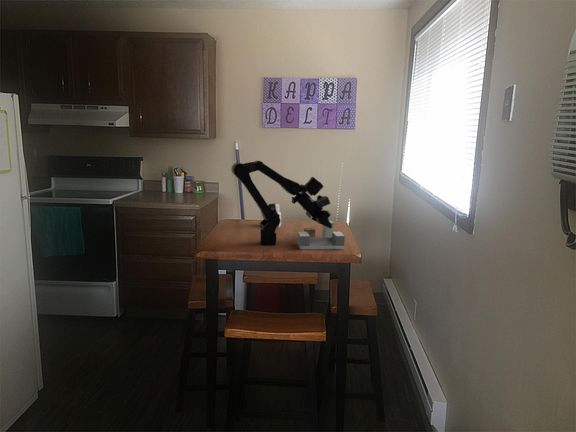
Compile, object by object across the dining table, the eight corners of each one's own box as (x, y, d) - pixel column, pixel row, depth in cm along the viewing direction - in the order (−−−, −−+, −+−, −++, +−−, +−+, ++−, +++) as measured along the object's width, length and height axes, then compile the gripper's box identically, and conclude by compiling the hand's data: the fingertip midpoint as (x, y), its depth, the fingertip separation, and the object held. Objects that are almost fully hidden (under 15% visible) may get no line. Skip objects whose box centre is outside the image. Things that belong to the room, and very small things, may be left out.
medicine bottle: (265, 227, 230) (265, 204, 228) (267, 224, 237) (268, 202, 235) (279, 228, 229) (279, 205, 227) (281, 225, 236) (281, 203, 234)
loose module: (325, 242, 200) (325, 222, 198) (321, 239, 204) (322, 220, 203) (333, 241, 201) (334, 222, 200) (329, 239, 206) (330, 220, 204)
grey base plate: (300, 249, 186) (300, 242, 185) (296, 243, 196) (297, 237, 195) (344, 249, 188) (344, 242, 188) (338, 243, 198) (339, 237, 197)
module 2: (335, 245, 188) (336, 235, 187) (331, 241, 196) (332, 231, 195) (344, 245, 188) (344, 235, 188) (339, 241, 196) (340, 231, 195)
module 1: (300, 245, 186) (300, 235, 185) (297, 241, 194) (297, 231, 193) (309, 245, 186) (309, 235, 186) (306, 241, 194) (306, 231, 194)
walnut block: (307, 238, 208) (307, 229, 207) (303, 236, 211) (303, 228, 210) (315, 237, 209) (315, 229, 209) (310, 235, 213) (311, 227, 212)
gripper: (327, 193, 189) (349, 217, 194) (313, 188, 206) (334, 210, 211) (309, 211, 188) (332, 235, 193) (296, 205, 205) (318, 227, 210)
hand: (329, 226), depth 202 cm, fingers closed on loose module, 5 cm apart
